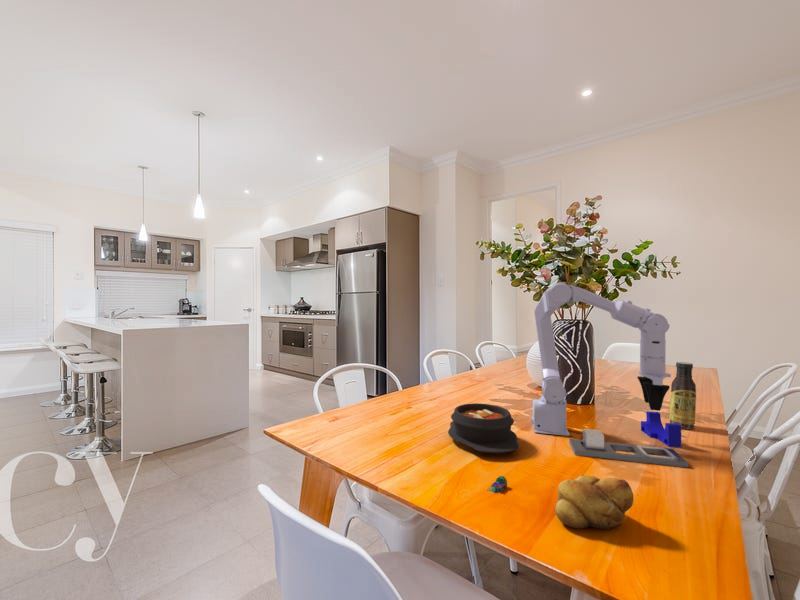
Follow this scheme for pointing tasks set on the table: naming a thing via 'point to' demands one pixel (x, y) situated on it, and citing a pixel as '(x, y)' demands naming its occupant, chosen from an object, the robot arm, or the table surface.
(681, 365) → the sauce bottle
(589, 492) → the bread roll
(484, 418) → the casserole
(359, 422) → the table surface
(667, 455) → the grey slotted tray
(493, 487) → the green purple lumpy wedge
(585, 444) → the pale grey upright block
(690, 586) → the table surface
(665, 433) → the cable clip
